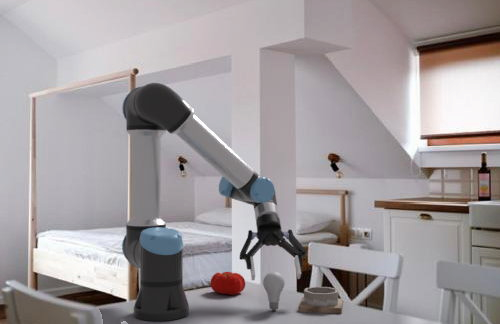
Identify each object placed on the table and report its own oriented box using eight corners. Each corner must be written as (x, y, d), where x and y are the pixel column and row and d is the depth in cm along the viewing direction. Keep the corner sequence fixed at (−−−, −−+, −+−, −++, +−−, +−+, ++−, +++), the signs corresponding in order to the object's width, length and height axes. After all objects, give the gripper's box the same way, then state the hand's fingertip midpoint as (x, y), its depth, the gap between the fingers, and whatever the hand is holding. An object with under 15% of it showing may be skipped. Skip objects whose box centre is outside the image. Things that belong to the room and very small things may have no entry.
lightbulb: (282, 313, 169) (282, 274, 169) (261, 312, 170) (261, 273, 170) (286, 308, 175) (286, 270, 175) (265, 307, 176) (265, 269, 176)
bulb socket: (298, 311, 172) (298, 293, 172) (302, 301, 183) (302, 285, 183) (341, 313, 169) (341, 295, 169) (342, 303, 181) (342, 286, 181)
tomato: (225, 288, 203) (225, 269, 203) (250, 293, 196) (250, 273, 196) (204, 293, 196) (204, 273, 196) (229, 298, 188) (229, 277, 188)
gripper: (304, 226, 196) (316, 282, 182) (227, 228, 193) (233, 285, 178) (308, 211, 191) (320, 268, 176) (229, 213, 187) (235, 270, 173)
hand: (276, 277), depth 177 cm, fingers open, 13 cm apart
